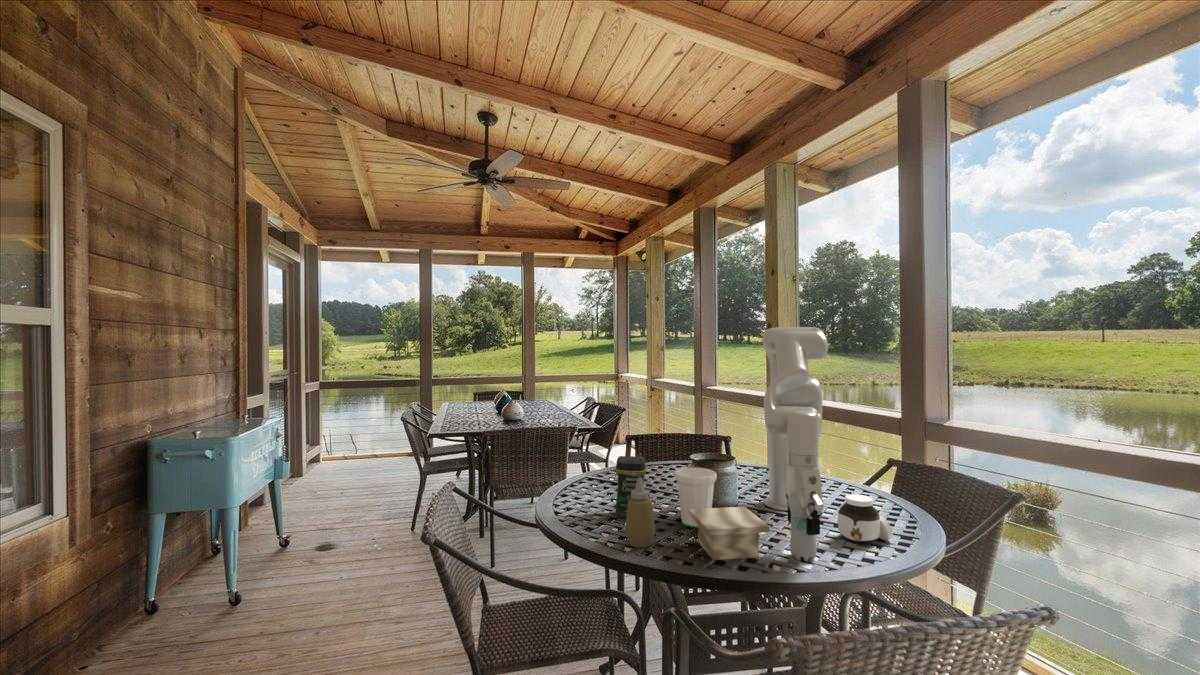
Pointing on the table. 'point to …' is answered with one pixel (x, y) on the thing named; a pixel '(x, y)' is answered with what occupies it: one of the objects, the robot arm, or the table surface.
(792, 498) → the bottle
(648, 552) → the table surface
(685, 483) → the cup
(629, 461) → the coffee jar
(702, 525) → the stand
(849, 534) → the spread jar
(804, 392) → the robot arm
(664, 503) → the table surface
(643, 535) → the squeeze bottle
